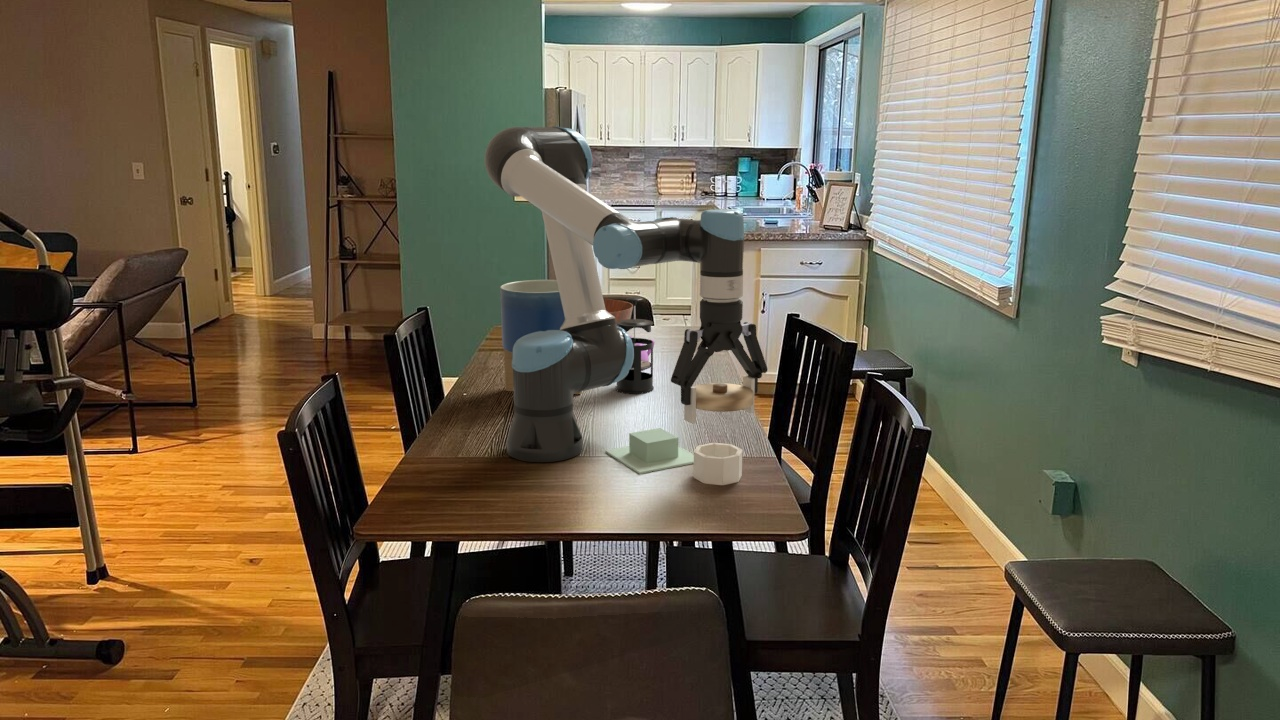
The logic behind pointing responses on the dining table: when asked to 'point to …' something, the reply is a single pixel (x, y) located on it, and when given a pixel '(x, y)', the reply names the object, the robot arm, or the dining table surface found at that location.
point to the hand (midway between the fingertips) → (719, 416)
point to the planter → (527, 315)
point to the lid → (723, 397)
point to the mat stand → (652, 451)
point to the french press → (637, 357)
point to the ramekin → (717, 463)
